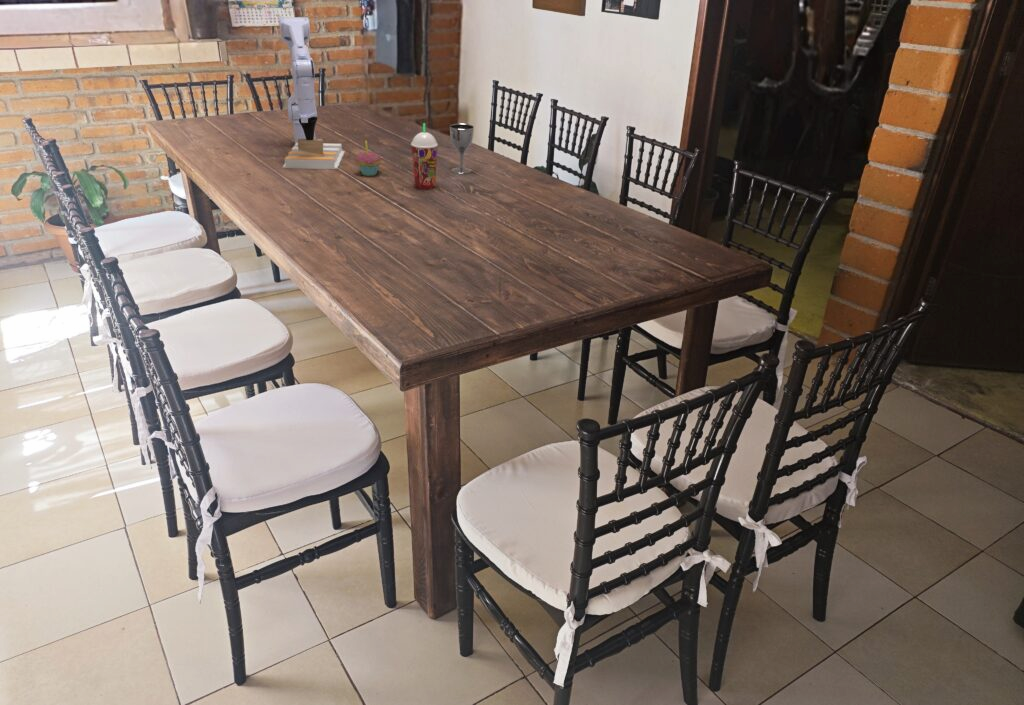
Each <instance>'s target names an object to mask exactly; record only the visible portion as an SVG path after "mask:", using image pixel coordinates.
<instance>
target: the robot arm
mask: <svg viewBox="0 0 1024 705" xmlns="http://www.w3.org/2000/svg"><path fill="white" fill-rule="evenodd" d="M278 26H279V33H280V40H281V42H282V43H284V44H286V45H287V47H288V50H289V55H290V56H289V57H290V65H291V66H290V67H291V74H292V86H293V94H291V95H290V97H288V98H287V101H286V102H287V106H286V107H287V116H288V119H289V121H290V122H291V123H292V125H293V126H292V127H293V136H294V137H293V138H294V145H293V146H292V148H293V147H295V144H296V143H298V139H306V140H313V139H316V124H317V122H318V119H319V118H318V112H317V105H316V104H317V103H316V101H317V100H316V92H315V81H314V79H315V75H316V70H315V64H314V60H313V58H312V57H311V53H310V49H309V47H308V46H307V45H306V44H307V43H309V40H310V36H311V27H310V19H309V17H308V16H305V17H303V16H301V17H297V16H296V17H295V16H294V17H288V16H287V17H285V16H280V17H279V18H278Z"/></svg>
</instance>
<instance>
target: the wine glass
mask: <svg viewBox="0 0 1024 705" xmlns="http://www.w3.org/2000/svg"><path fill="white" fill-rule="evenodd" d="M474 130H475V128H474V125H472V124H468V123H453V124H451V125H449V135H450V139H451V140H450V141H451V144H452V145H453V147H454V148H455V149H456V150H457V151H458V154H459V158H460V159H459V163H460V166H459V167H453V168H451V169H452V170H451V169H450V171H451V172H453V173H454V174H455V173H456V174H469V172H470V173H471V172H472V169H471V168H469V167H468V168H467V167H464V164H463V163H464V162H463V161H464V155H465V152H466V151H467V149H469V147H470V146H471V144H472V143H473V139H474Z"/></svg>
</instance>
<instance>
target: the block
mask: <svg viewBox="0 0 1024 705" xmlns="http://www.w3.org/2000/svg"><path fill="white" fill-rule="evenodd" d="M323 141H324V139H323V138H322V139H321V138H315V139H313V140H306V139H298V150H299V156H305V157H324V150H323V143H324V142H323Z"/></svg>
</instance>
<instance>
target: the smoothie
mask: <svg viewBox="0 0 1024 705" xmlns="http://www.w3.org/2000/svg"><path fill="white" fill-rule="evenodd" d="M422 128H423V129H422V131H421V132H419V133H417V134H416V135H415V136H414V137H413V139H412V142H411V143H410V147H411V157H412V167H413V168H412V169H413V179H414V184H415V187H416V188H418V189H422V190H430V189H433V188H434V187H435V184H436V183H437V182H436V180H437V165H438V164H437V162H438V146H439V145H438V144H439V143H438V142H437V139H436V138H435V137H434V135H432V134H431V133H430V132H427V131H426V123H425V122H424V123H422Z"/></svg>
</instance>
